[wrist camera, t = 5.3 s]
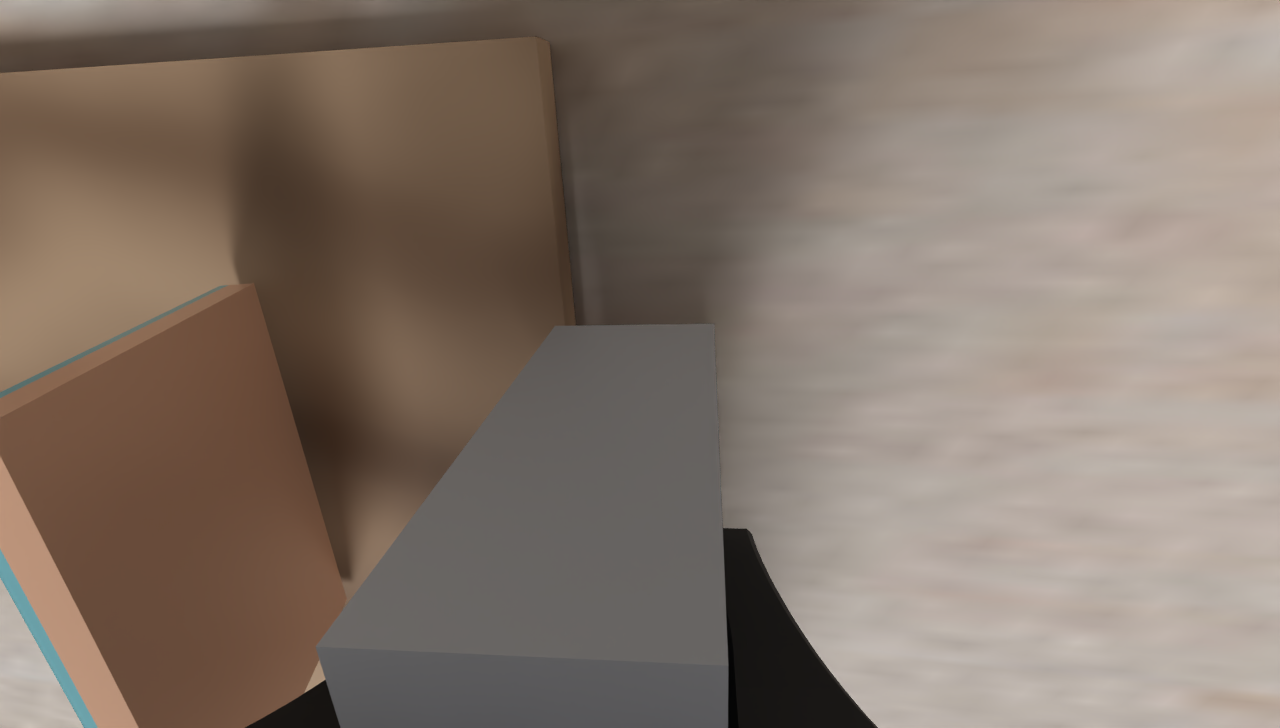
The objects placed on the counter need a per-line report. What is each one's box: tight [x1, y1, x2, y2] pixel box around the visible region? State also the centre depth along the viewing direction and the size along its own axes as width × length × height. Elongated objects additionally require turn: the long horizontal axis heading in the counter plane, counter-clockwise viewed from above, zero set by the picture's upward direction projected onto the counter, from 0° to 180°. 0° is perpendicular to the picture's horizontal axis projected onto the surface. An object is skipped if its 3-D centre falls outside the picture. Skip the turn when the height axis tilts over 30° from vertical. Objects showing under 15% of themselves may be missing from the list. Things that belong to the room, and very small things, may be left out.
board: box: [0, 36, 576, 693], centre depth 18 cm, size 20×18×1 cm
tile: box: [0, 283, 347, 728], centre depth 14 cm, size 10×8×1 cm
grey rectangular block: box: [316, 324, 728, 728], centre depth 11 cm, size 8×4×9 cm, turn 3°
